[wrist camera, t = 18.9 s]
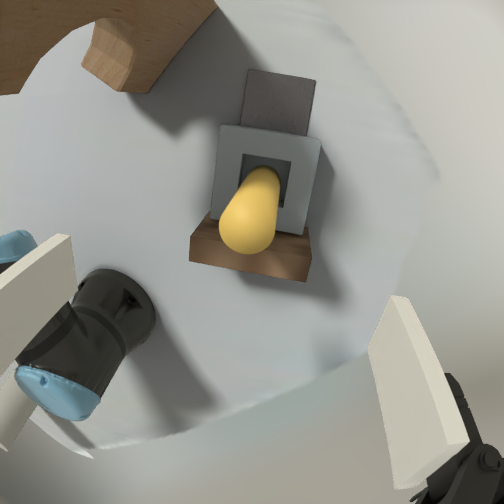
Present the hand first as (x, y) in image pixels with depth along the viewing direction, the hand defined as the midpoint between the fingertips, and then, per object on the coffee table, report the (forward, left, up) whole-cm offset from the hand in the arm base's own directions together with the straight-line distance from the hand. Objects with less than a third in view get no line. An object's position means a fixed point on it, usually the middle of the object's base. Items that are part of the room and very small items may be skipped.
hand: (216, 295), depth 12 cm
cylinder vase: (-63, -71, -29) cm, 99 cm away
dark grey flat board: (0, +2, -29) cm, 29 cm away
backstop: (0, -9, -29) cm, 30 cm away
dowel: (0, -2, -27) cm, 27 cm away
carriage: (0, -1, -29) cm, 29 cm away
